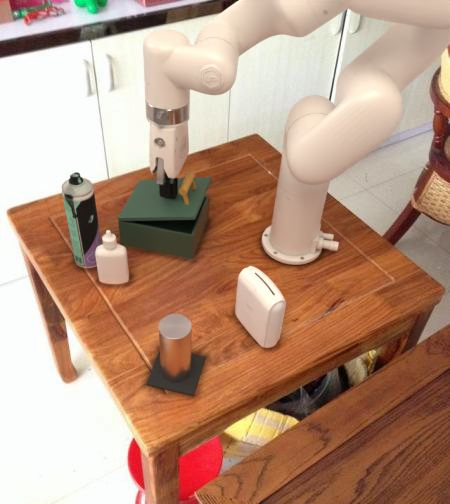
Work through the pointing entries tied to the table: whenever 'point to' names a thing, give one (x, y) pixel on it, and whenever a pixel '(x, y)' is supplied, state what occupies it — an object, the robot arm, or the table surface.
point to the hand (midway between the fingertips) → (168, 195)
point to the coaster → (181, 387)
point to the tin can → (175, 347)
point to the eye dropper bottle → (112, 261)
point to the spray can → (82, 219)
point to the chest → (166, 234)
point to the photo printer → (259, 306)
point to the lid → (166, 200)
